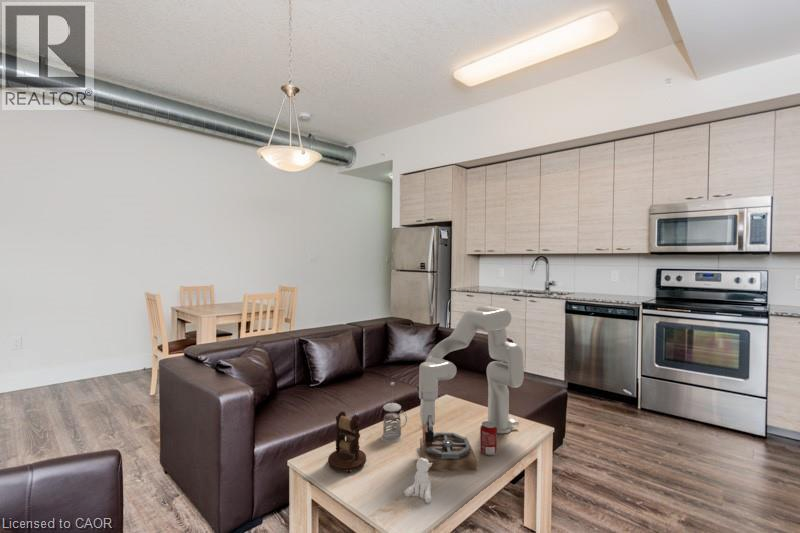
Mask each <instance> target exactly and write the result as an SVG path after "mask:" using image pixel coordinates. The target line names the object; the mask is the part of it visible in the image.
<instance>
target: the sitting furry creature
mask: <svg viewBox="0 0 800 533" xmlns="http://www.w3.org/2000/svg"><path fill="white" fill-rule="evenodd" d="M415 465H416V470H417V471H416V472H415V475H414V481H413V482H414V483H413V484H411V485H410V486H407V488H406V489H405V490H404V491H403V493H404V496H405V497H407V498H409V497H411V496H412V497H419V498H421V499H424V501H425V503H426V504H430V502H431V500H432V490H431V489H432V484H431V481H430V477H429V471H428V470H429V467H431V465H432V463H429V461H428V460H427V459H424V458H422V457H417V462H416V464H415Z"/></svg>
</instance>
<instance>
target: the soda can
mask: <svg viewBox="0 0 800 533" xmlns="http://www.w3.org/2000/svg"><path fill="white" fill-rule="evenodd" d="M479 430H480V431H479V451H480V452H481V453H482V454H483V455H485V456H493V455H495V454H496V453H497V451H498V450H497V449H498V448H497V445H498V444H497V443H498V439H497V438H498V433H497V428H496V426H495V423H493V422H490V421H488V420H486V421H485V420H484V421H482V422H481V425H480V428H479Z"/></svg>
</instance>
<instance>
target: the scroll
mask: <svg viewBox="0 0 800 533" xmlns="http://www.w3.org/2000/svg"><path fill="white" fill-rule="evenodd" d="M335 423H336V424H335V429H334V431H335V434H336V435H335V450H334V451H332V452H331V453H330V454H329V456H328V459H327V464H328V467H330V468H332V469H333V470H334V471H335V470H337V471H341V472H347V473H348V474H351V472H352V471H354V470H355V471H356V470H357V469H360V468H361V467H363V466H364V465H365V464H366V462H367V454H366V452H364V451H362V450H361V449H360V448H361V447H360V445H359V444H360V441H359V440H360V438H361V433H360V429H359V428H360V424H361V422H360V417H359V416H358V415H357V414H355V415H353V416H352V417H349V416H348V417H347V416H346V412H345V411H340V412H339V413H338V414H337V415H336V416H335Z"/></svg>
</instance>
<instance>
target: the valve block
mask: <svg viewBox="0 0 800 533" xmlns="http://www.w3.org/2000/svg"><path fill="white" fill-rule="evenodd" d="M464 437H465V438H467V439H468V437H466V436H464ZM447 439H448V440H451V441H452V443H462V442H460V441H458V440H455V439H453V438H447ZM419 440H420V441H419V442H420V443H419V447H420V452H421V458H424V459H427V460H428V461H429V463H432V465H431V467H429V470H428V471H427V472H455V471H457V472H459V471H461V472H462V471H478V458H477V456H476V455H475V454H476V453H475V452H474V450H473V448H472V446H471V444H470V442H469V444H470V447H471V451H470V452H469V453H468V454H466V455H465V456H463V457H461V458H439V457H437V456H435V455H433V454H431V453H429V452H427V451H426V446H425V444H423V437H420V439H419ZM443 440H444V438H437V439H435V440H434V441H433V443H442V441H443ZM433 448H435V449H437V450H439V451H441V452H447V450H444V449H443V448H442V447H433ZM464 448H465V447H452V449H451V452H459V451H460V450H462V449H464Z"/></svg>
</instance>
